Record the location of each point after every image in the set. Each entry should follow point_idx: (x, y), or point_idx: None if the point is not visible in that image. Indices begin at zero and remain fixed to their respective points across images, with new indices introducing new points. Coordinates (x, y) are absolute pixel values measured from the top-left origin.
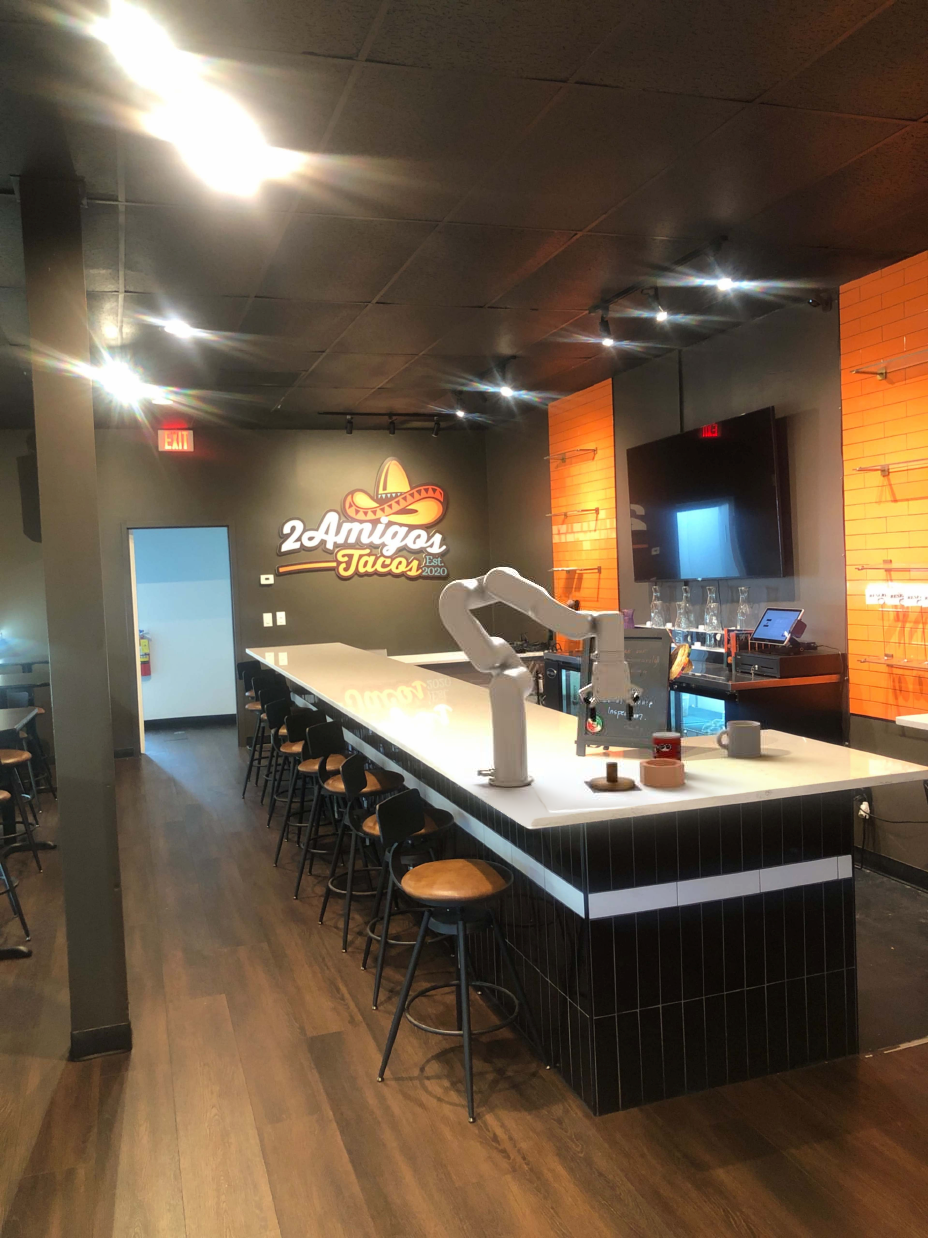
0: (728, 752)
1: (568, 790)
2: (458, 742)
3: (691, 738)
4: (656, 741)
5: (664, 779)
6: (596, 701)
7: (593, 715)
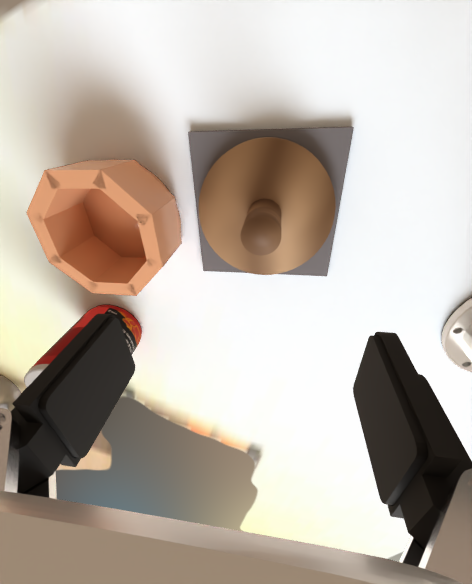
0: (13, 393)
1: (402, 209)
2: None
3: (82, 468)
4: None
5: (108, 163)
6: (450, 567)
7: (417, 378)
